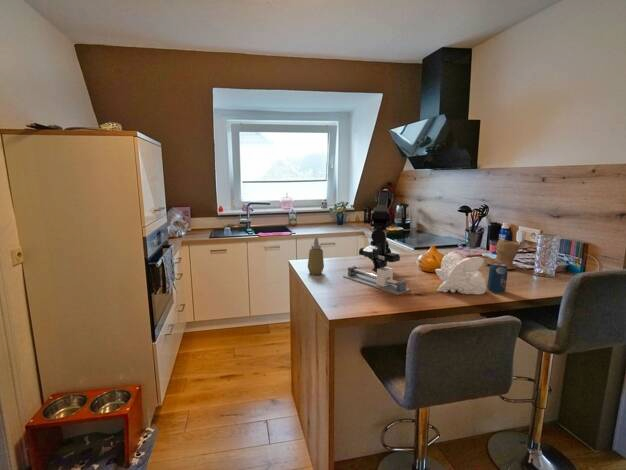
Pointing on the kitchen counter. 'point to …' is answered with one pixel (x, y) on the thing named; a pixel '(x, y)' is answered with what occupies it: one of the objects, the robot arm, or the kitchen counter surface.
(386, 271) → the collar
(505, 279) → the soda can
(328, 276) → the kitchen counter surface
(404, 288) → the rail
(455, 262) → the white sculpture
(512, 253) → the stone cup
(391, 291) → the base board
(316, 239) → the squeeze bottle
